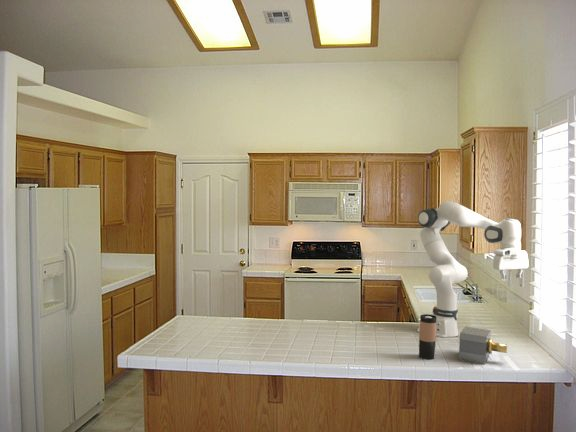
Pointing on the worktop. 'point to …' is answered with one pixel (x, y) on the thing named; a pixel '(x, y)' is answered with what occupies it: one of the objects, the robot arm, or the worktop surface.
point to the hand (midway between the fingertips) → (511, 278)
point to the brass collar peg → (496, 347)
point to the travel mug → (427, 336)
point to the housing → (474, 345)
